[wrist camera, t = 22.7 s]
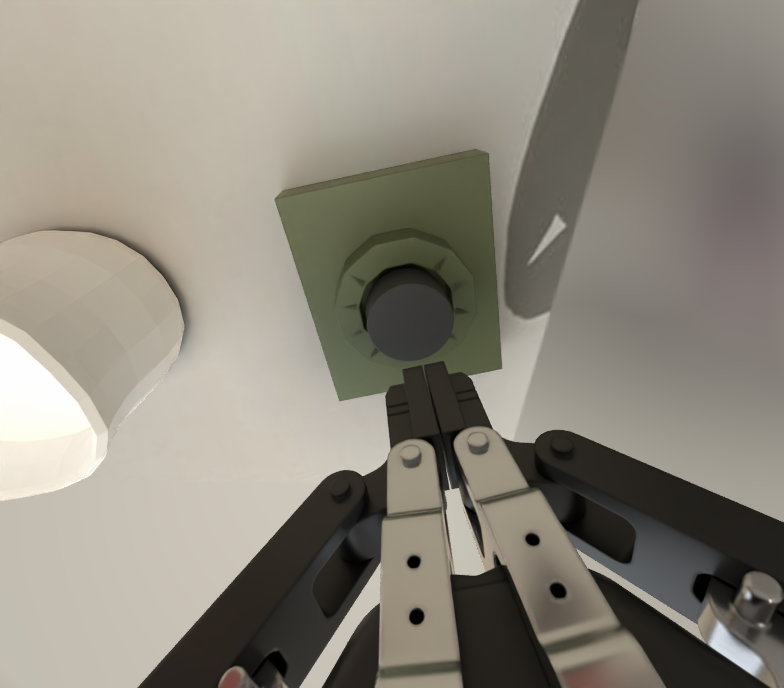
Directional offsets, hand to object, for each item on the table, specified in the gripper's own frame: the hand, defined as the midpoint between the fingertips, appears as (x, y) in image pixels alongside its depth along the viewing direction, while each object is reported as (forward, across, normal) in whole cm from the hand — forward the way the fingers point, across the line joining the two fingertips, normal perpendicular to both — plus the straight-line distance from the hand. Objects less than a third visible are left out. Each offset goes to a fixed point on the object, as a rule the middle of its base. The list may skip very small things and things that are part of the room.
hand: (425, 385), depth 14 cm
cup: (+11, +17, -2) cm, 20 cm away
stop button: (+7, 0, 0) cm, 7 cm away
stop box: (+10, 0, 0) cm, 10 cm away
